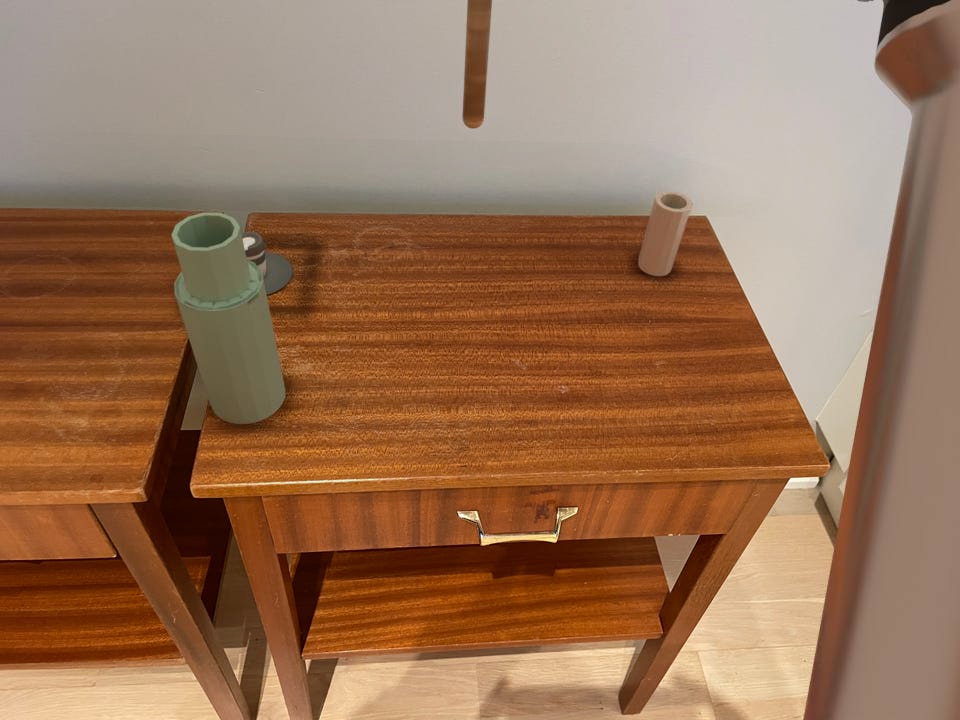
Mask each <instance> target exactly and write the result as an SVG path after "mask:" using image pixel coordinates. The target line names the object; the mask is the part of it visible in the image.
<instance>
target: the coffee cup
mask: <svg viewBox="0 0 960 720" xmlns="http://www.w3.org/2000/svg"><path fill="white" fill-rule="evenodd" d="M241 234H242V239H243V244H244V248H245V253H246V258H247V260H249V261H252V262H253V263H255V264H256V265H257V267H258V268H259V269H260V270H261V271H262V275H263V280H264V285H265V290H266V295H267V296H270V295H273V294H275V293H277V292H279V291H281V290H282V289H284V288H285V287H286V286H287V285H288V284H289V283H290V281H291V280H292V277H293V274H294V273H293V272H294V269H293V266H292V264H291V262H290V261H289V260H288V259H287V258H286V257H285V256H282V255H281V254H279V253H278V254H277V253H274V252H269V251H266V250H267V248H268V246H267V243H266V242H265V240H264V238H263V236H262V235H261V234H260V233H258V232H256V231H255V232H254V231H245V232H241Z"/></svg>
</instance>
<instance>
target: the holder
mask: <svg viewBox="0 0 960 720" xmlns="http://www.w3.org/2000/svg"><path fill="white" fill-rule="evenodd" d="M693 205H694V204H693V201H692V199H691V198H690V197H688V196H687V195H686V194H684V193H682V192H679V191H675V190H663V191H661V192H658V193H657V194H656V195H655V197H654V200H653V204H652V206H651V207H652V208H651V210H650V215H649V218H648V222H647V226H646V229H645V233H644V237H643V239H642V243H641V247H640V250H639V251H640V252H639V256H638V261H637V265H638V268H639V269H640V270H641V271H642V272H644V273H645V274H647V275H649V276H654V277H664V276H667V275H669V274H670V273H671V272H672V270H673V267H674V265H675V262H676V258H677V255H678V252H679V250H680V246H681V243H682V239H683V237H684V234H685V230H686V228H687V224H688V221H689V218H690V215H691V212H692V209H693Z"/></svg>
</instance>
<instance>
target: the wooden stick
mask: <svg viewBox="0 0 960 720" xmlns="http://www.w3.org/2000/svg"><path fill="white" fill-rule="evenodd" d="M492 7H493V0H467V6H466V26H465V27H466V28H465V29H466V31H465V50H464V56H465V57H464V72H463V73H464V75H463V96H462V116H461V117H462V122H463V124H464V125H465V127H467V128H469V129H471V130H472V129H475V130H476V129H478V128H480V127H481V126H482V125H483V123H484V121H485V110H486V96H487V95H486V94H487V82H488V78H487V77H488V66H489V53H490V35H491V24H492V23H491V22H492V21H491V20H492Z"/></svg>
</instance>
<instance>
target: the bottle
mask: <svg viewBox="0 0 960 720" xmlns="http://www.w3.org/2000/svg"><path fill="white" fill-rule="evenodd" d="M241 233H242V230H241V226H240V224H239V223H238V222H237V220H236V219H235V217H232V216H231V215H228V214H225V213H223V212H210V211H209V212H207V211H206V212H199V213H196V214H193V215H189V216H187V217H185V218H183V219H182V220H181V221H179V222H177V223H176V224H175V226H174V227H173V230H172V232H171V235H170V236H171V239H172V243H173V246H174V250H175V252H176V257H177V259H178V262H179V266H180V269H181V272H180V273H179V275H178V276H177V278H176V279H175V281H174V283H173V285H174V289H173V291H174V296H175V299H176V302H177V306H178V308H179V312H180V315H181V319H182V322H183V324H184V327H185V331H186V334H187V337H188V340H189V343H190V347H191V349H192V354H193V356H194V358H195V362H196V365H197V368H198V371H199V375H200V378H201V381H202V384H203V387H204V390H205V393H206V396H207V400H208V403H209V405H210V406H211V411H213V413H214V414H215V415H216V416H217V417H218V418H219V419H221V420H222V421H224V422H227V423H230V424H233V425H235V424H236V425H248V424H249V425H251V424H255V423H259V422H261V421H263V420H266V419H267V418H270V417H271V416H272V415H274V414H275V413H276V412H277V411H279V409H280V408H281V406H282V405H283V404H284V401H285V398H286V388H285V381H284V376H283V371H282V370H283V369H282V366H281V360H280V356H279V355H280V354H279V350H278V345H277V340H276V336H275V330H274V325H273V321H272V315H271V310H270V305H269V301H268V295H266V290H265V285H264V280H263V275H262V271H261V270H260V269H259V268H258V267H257V265H256V264H255V263H253V262H252V261H249V260H247V258H246V253H245V248H244V244H243V239H242V234H241Z"/></svg>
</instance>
